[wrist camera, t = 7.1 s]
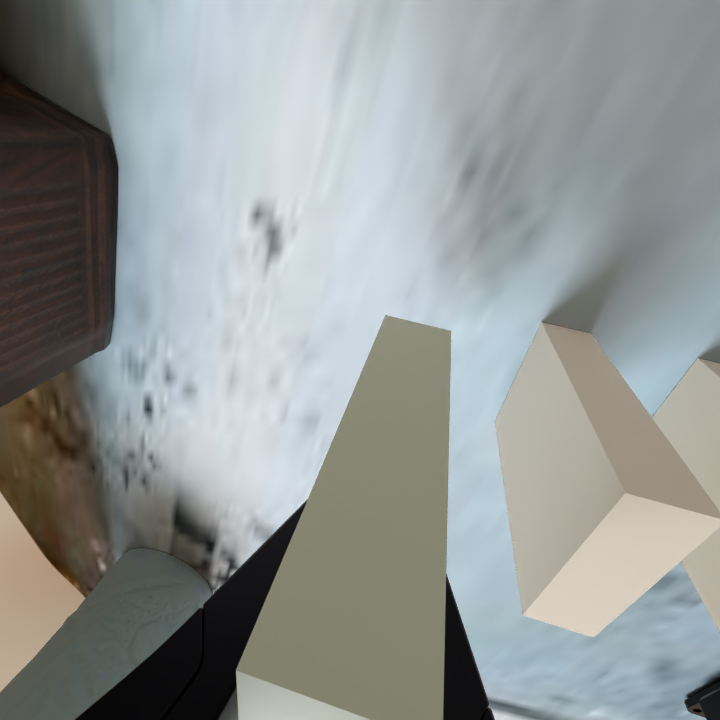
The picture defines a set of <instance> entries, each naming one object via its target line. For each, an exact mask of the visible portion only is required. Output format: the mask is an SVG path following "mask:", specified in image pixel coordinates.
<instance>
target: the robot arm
mask: <svg viewBox="0 0 720 720" xmlns="http://www.w3.org/2000/svg"><path fill="white" fill-rule="evenodd" d="M307 500H308V499H307ZM307 500H306V501H305V502H304V503H303V504H302V505H301V506H300V507H299V508H298V509H297V510H296V511H295V512H294V513H293V514H292V515H291V516H290V517H289V518H288V519H287V520H286V521H285V522H284V523H283V525H282V526H281V527H280V528H279V529H278V530H277V531H276V532H275V533H274V534H273V535H272V536H271V537H270V538H269V539H268V540H267V541H266V542H265V543H264V544H263V545H262V546H261V547H260V548H259V549H258V550H257V551H256V552H255V553H254V554H253V555H252V556H251V557H250V558H249V559H248V560H247V561H246V562H245V563H244V564H243V565H242V566H241V567H240V568H239V569H238V570H237V571H236V572H235V573H234V574H233V575H232V576H231V577H230V578H229V579H228V580H227V581H226V582H225V583H224V584H223V585H222V586H221V587H220V588H219V589H218V590H217V591H216V592H215V593H214V594H213V595H212V596H211V597H210V598H209V599H208V600H207V601H206V602H205V603H204V604H203V608H202V607H200V608H199V609H198V610H197V611H196V612H195V613H194V614H193V615H192V616H191V617H190V618H189V619H188V620H187V621H186V622H185V623H184V624H183V625H182V626H181V627H180V628H179V629H178V630H176V631H175V632H174V633H173V634H172V635H171V636H170V637H169V638H168V639H167V640H166V641H165V642H164V643H163V644H162V645H161V646H160V647H159V648H158V649H157V650H155V651H154V652H153V653H152V654H151V655H150V656H149V657H147V658H146V659H145V660H144V661H143V662H142V663H141V664H139V665H138V666H137V667H136V668H135V669H134V670H133V671H131V672H130V673H129V674H128V675H127V676H126V677H125V678H123V679H122V680H121V681H120V682H119V683H117V684H116V685H115V686H114V687H113V688H111V689H110V690H109V691H108V692H107V693H105V694H104V695H103V696H102V697H101V698H100V699H98V700H97V701H96V702H95V703H94V704H92V705H91V706H90V707H89V708H88V709H86V710H85V711H84V712H83V713H82V714H80V715H79V716H78V717H77V718H76V719H75V720H239V718H238V700H237V682H236V669H237V667H238V664H239V662H240V659H241V657H242V655H243V652H244V650H245V648H246V645H247V643H248V640H249V638H250V636H251V633H252V631H253V629H254V626H255V624H256V621H257V619H258V617H259V614H260V612H261V610H262V607H263V605H264V602H265V600H266V598H267V595H268V593H269V591H270V588H271V586H272V583H273V581H274V579H275V576H276V574H277V572H278V569H279V567H280V564H281V562H282V560H283V557H284V555H285V553H286V550H287V548H288V545H289V543H290V541H291V538H292V536H293V534H294V531H295V529H296V527H297V524H298V522H299V519H300V517H301V515H302V512H303V510H304V508H305V505H306V503H307ZM684 702H685V705H686V707H687V710H688V711H689V712H691V713H693V714H696V715H699V716H702V717H705V718H706V719H707V720H720V681H719V682H717V683H716V684H714V685H712V686H710V687H708V688H706V689H705V690H703V691H701V692H699V693H697V694H695V695H694V696H692V697H690V698H688V699H686V700H685V701H684ZM488 705H489V701H488V698H487V695H486V692H485V689H484V686H483V683H482V680H481V677H480V674H479V671H478V668H477V665H476V662H475V659H474V656H473V653H472V650H471V647H470V644H469V641H468V638H467V635H466V632H465V629H464V626H463V623H462V620H461V616H460V613H459V610H458V607H457V604H456V601H455V598H454V595H453V592H452V589H451V586H450V583H449V580H448V577H447V574H446V603H445V652H444V700H443V720H495V719H494V716H493V713H492V710H491V709H490V708H488Z"/></svg>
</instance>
